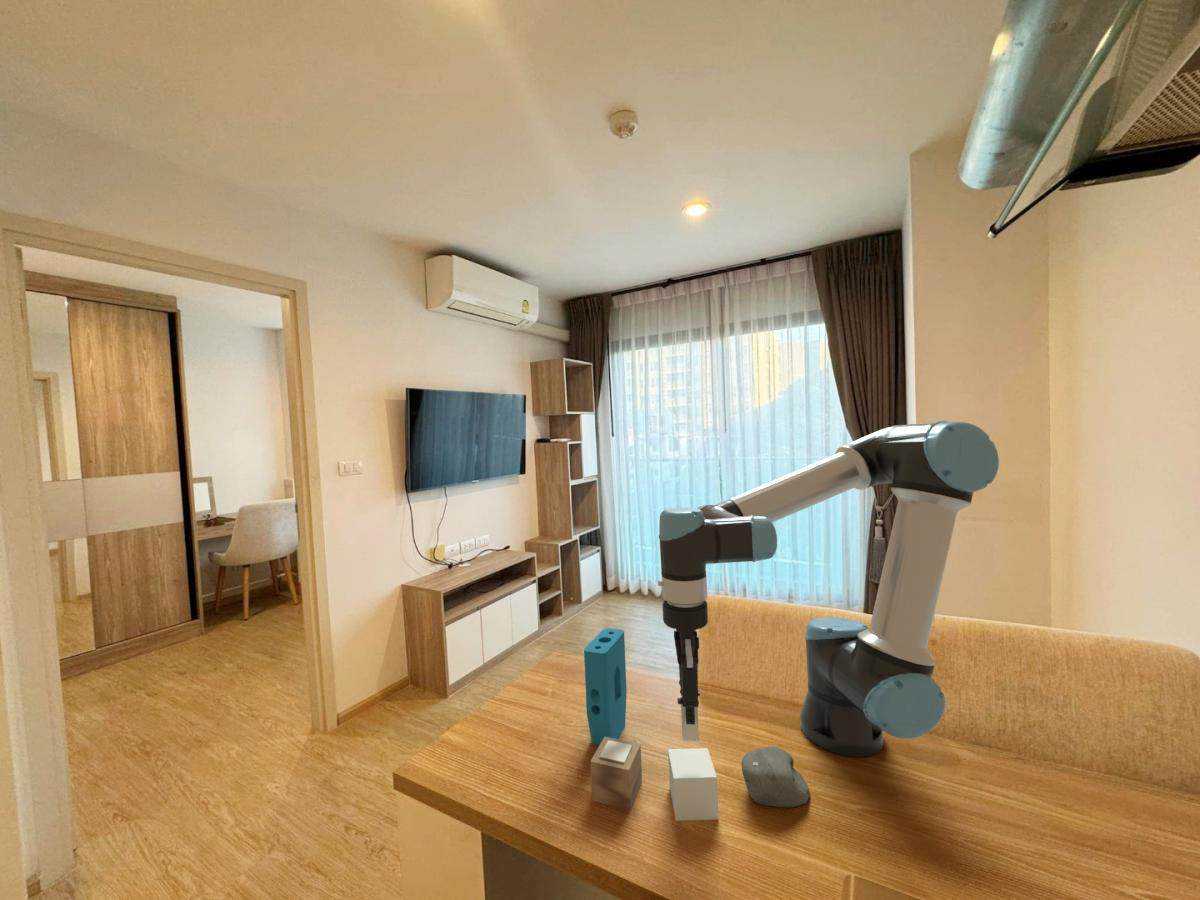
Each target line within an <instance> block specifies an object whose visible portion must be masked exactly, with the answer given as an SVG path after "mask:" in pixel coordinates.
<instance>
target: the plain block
mask: <svg viewBox="0 0 1200 900" xmlns="http://www.w3.org/2000/svg"><path fill="white" fill-rule="evenodd" d="M667 753H668V754H667V756H668V777H669V778H668V779H669V793H670V797H671V803H672V810H673V813H674V819H675V820H674V821H678V822H679V821H708V820H709V821H711V820H716V821H717V820H719V819H720V817H719V797H718V796H719V795H718V793H719V792H718V776H717V772H716V769H715V767H714V764H713V761H712V758H711V754H710V752H709V749H708V748H707V747H706V748H705V747H703V748H702V747H701V748H676V749H675V748H672V749H671V748H670V749H667Z"/></svg>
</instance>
